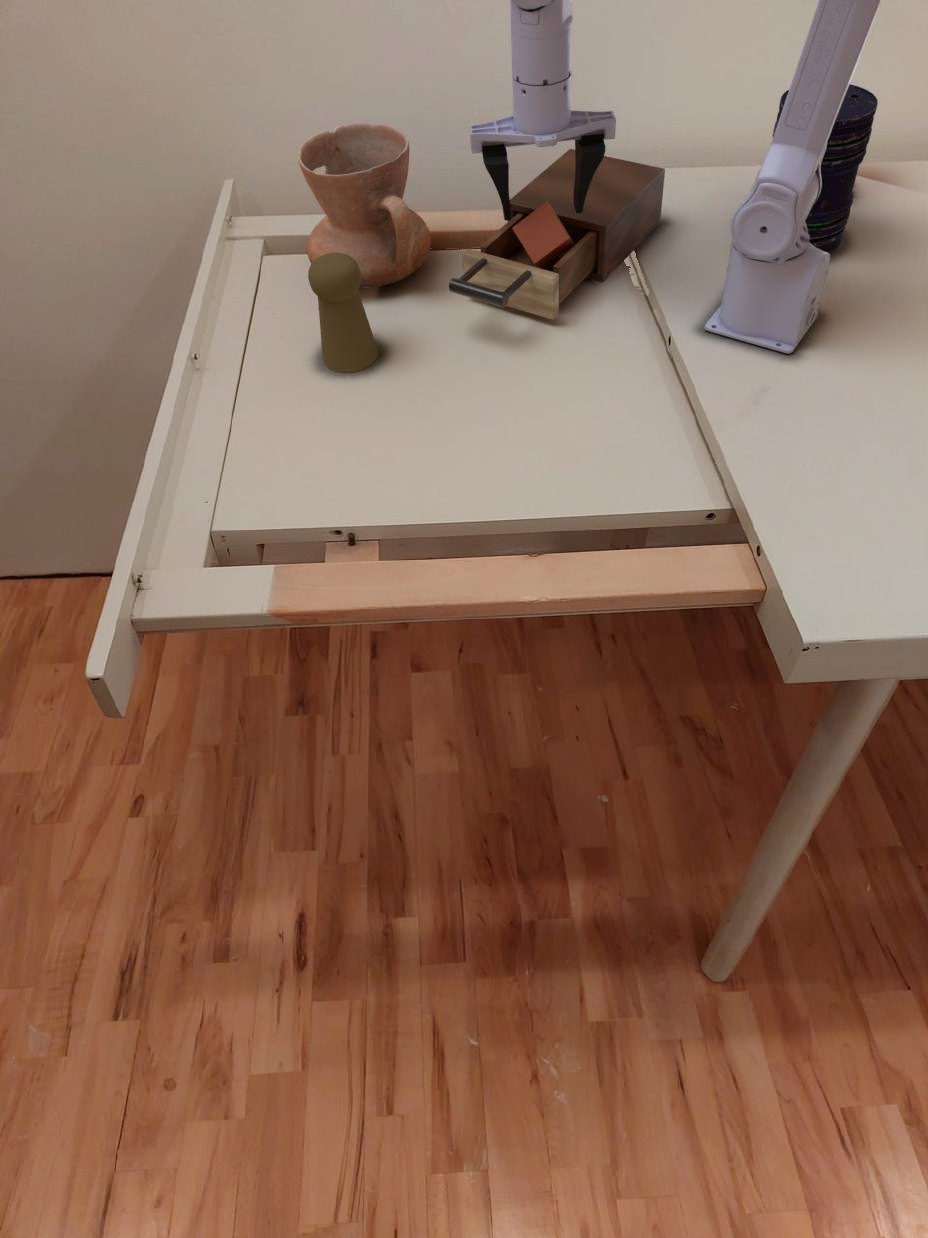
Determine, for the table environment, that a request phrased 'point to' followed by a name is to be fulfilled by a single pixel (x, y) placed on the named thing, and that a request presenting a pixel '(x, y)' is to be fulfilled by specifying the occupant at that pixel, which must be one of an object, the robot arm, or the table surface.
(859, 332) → the table surface
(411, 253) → the ceramic jug
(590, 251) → the drawer
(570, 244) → the block
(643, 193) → the cabinet
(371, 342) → the olive green pawn
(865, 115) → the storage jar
